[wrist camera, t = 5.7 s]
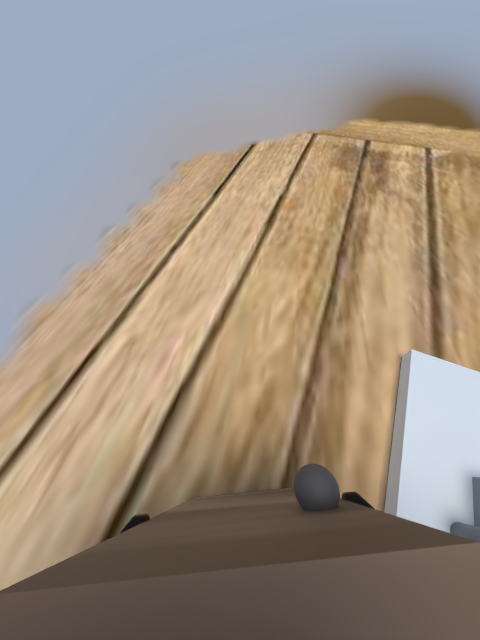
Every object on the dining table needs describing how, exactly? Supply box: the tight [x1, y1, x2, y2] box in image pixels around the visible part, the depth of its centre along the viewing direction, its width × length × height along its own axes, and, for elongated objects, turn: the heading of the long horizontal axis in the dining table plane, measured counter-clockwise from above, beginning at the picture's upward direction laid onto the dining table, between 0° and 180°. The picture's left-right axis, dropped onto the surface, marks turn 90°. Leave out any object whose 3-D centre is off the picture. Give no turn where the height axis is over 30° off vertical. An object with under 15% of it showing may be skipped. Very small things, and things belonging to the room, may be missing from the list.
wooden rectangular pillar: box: [0, 464, 480, 640], centre depth 7 cm, size 4×6×12 cm, turn 95°
